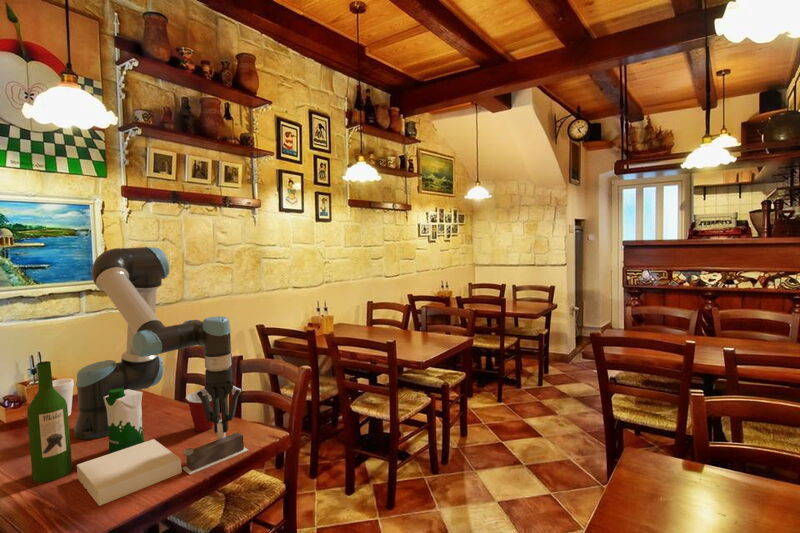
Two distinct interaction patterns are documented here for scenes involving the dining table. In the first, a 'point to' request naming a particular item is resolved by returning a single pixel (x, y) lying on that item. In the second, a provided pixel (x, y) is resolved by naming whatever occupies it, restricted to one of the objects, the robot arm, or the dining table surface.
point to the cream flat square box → (127, 471)
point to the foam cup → (65, 390)
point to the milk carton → (124, 418)
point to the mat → (214, 462)
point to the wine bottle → (48, 430)
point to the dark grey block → (213, 451)
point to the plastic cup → (199, 412)
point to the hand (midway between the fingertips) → (222, 442)
